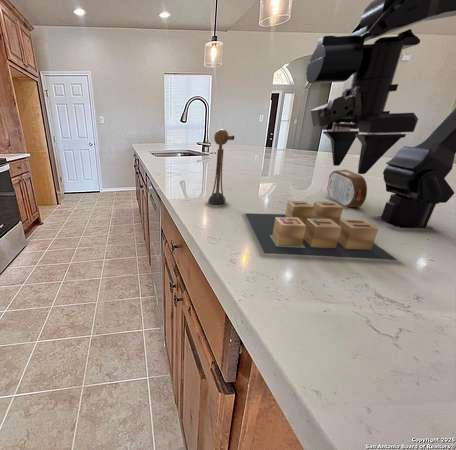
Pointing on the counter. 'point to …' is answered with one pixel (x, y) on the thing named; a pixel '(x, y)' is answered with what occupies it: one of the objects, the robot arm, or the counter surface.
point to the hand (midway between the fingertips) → (347, 169)
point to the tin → (347, 188)
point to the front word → (340, 233)
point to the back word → (314, 210)
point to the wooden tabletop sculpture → (219, 167)
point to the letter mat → (264, 231)
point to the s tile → (288, 231)
